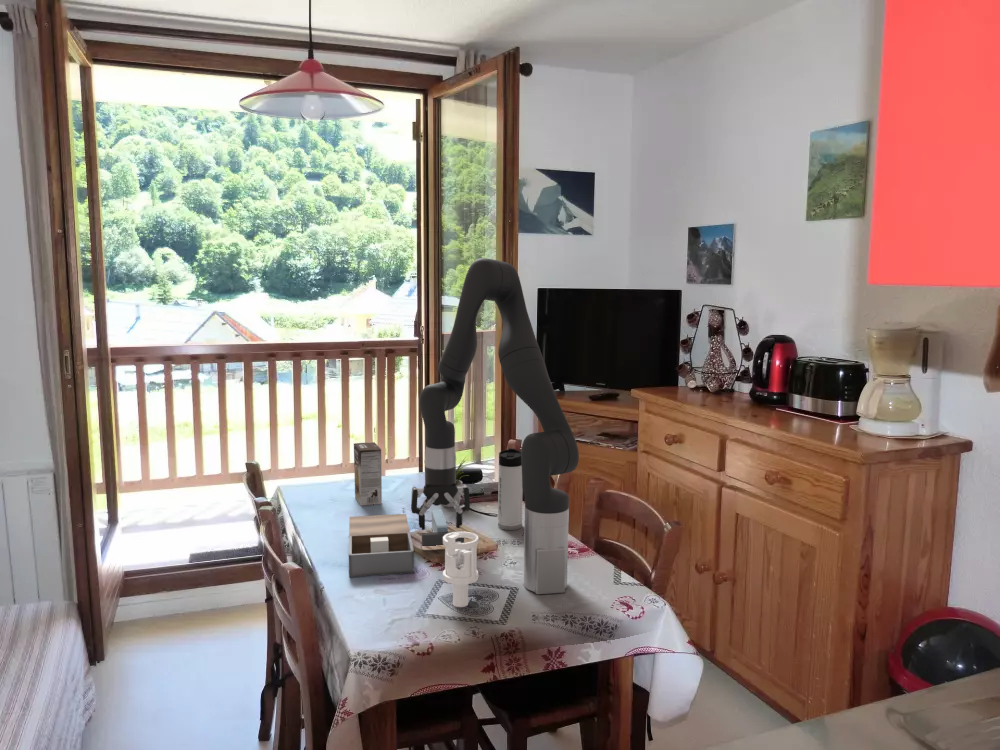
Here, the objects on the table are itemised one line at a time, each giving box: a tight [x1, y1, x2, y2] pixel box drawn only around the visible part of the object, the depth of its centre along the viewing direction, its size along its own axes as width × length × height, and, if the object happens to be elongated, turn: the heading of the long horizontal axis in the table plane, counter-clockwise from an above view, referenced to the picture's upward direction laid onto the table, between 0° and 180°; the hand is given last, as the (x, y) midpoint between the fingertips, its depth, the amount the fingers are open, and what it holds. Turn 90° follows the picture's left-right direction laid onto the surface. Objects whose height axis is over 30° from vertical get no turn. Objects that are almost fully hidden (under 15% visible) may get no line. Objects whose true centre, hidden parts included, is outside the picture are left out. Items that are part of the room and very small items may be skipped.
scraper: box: [421, 509, 465, 547], centre depth 190 cm, size 16×10×5 cm, turn 11°
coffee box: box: [353, 441, 383, 507], centre depth 220 cm, size 9×6×16 cm
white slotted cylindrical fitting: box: [442, 530, 479, 608], centre depth 153 cm, size 7×7×15 cm
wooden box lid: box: [348, 513, 411, 554], centre depth 186 cm, size 14×14×5 cm
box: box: [348, 532, 415, 578], centre depth 173 cm, size 12×14×5 cm
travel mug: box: [497, 448, 523, 531], centre depth 199 cm, size 6×7×20 cm
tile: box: [370, 537, 389, 553], centre depth 177 cm, size 4×4×2 cm
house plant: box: [441, 454, 470, 508], centre depth 218 cm, size 14×14×16 cm
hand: (440, 528), depth 189 cm, fingers open, 8 cm apart
